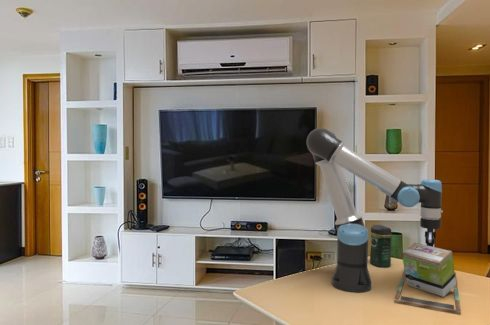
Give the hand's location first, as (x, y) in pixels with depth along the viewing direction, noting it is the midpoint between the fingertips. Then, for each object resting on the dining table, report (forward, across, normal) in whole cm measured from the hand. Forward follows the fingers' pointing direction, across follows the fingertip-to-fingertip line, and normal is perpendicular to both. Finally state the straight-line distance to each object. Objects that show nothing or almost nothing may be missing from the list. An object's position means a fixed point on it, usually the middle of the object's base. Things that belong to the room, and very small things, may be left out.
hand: (429, 275), depth 155 cm
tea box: (+2, -7, -1) cm, 7 cm away
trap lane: (+3, -5, 0) cm, 6 cm away
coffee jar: (+4, +18, +21) cm, 28 cm away
